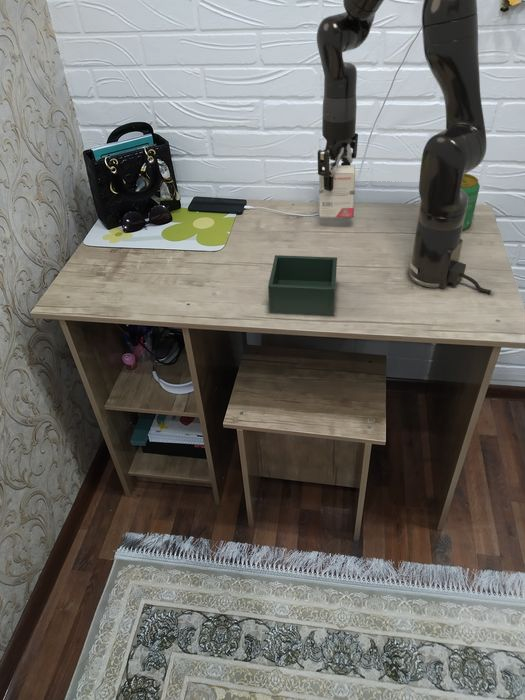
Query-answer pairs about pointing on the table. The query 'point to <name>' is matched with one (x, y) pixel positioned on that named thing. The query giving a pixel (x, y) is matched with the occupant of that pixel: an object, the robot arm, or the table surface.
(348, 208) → the ink box
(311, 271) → the bin
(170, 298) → the table surface
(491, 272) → the table surface
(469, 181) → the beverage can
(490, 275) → the table surface
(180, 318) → the table surface
